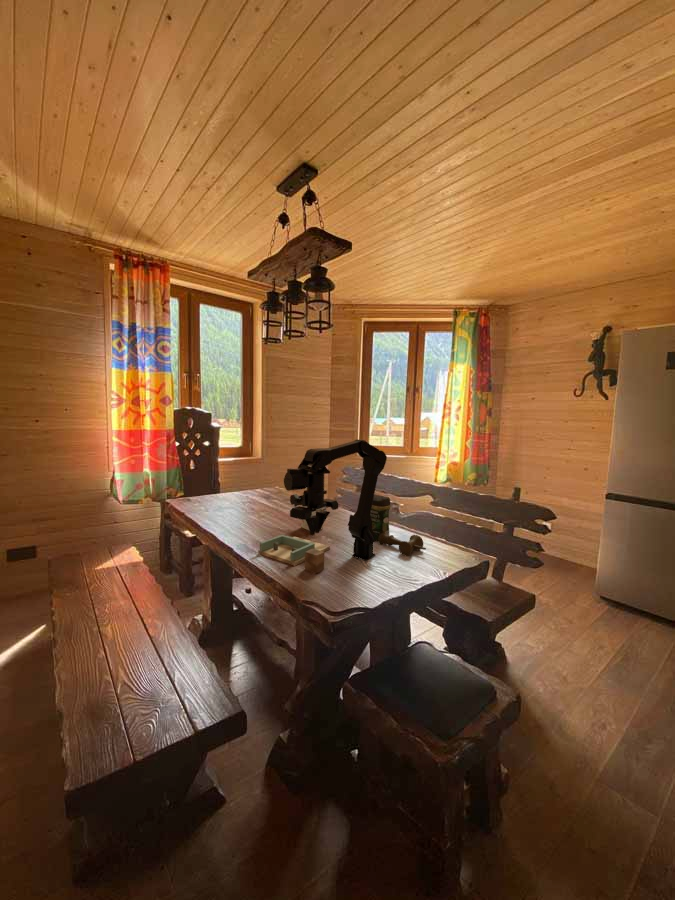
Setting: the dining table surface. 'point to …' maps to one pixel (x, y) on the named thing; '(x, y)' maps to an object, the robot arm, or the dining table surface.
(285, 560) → the board
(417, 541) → the kendama
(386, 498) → the coffee jar
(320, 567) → the block
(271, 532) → the dining table surface
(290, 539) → the housing
